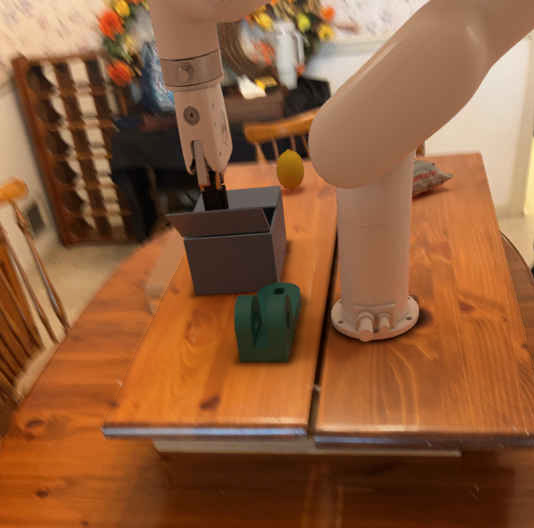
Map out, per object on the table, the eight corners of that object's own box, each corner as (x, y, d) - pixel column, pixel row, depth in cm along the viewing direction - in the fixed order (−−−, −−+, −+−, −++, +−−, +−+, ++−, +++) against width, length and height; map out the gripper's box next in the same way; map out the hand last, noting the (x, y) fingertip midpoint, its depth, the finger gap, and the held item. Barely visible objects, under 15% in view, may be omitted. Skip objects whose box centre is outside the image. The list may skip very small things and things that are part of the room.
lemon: (292, 183, 134) (288, 142, 128) (311, 188, 131) (308, 147, 125) (273, 193, 132) (268, 151, 126) (291, 198, 128) (287, 156, 123)
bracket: (287, 361, 88) (281, 310, 83) (240, 361, 90) (231, 312, 84) (304, 294, 101) (299, 246, 95) (262, 295, 102) (255, 248, 97)
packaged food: (452, 189, 122) (453, 162, 118) (401, 208, 119) (401, 181, 115) (422, 178, 128) (423, 152, 124) (373, 196, 125) (373, 169, 121)
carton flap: (270, 228, 96) (270, 230, 96) (182, 235, 98) (182, 237, 98) (261, 206, 88) (261, 208, 88) (165, 214, 90) (165, 216, 90)
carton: (278, 290, 103) (271, 229, 96) (195, 295, 105) (182, 235, 98) (287, 242, 115) (281, 185, 108) (212, 248, 117) (201, 192, 110)
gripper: (211, 82, 73) (236, 237, 86) (230, 51, 84) (250, 193, 97) (149, 90, 75) (182, 241, 87) (175, 57, 85) (202, 197, 98)
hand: (218, 215), depth 92 cm, fingers closed
